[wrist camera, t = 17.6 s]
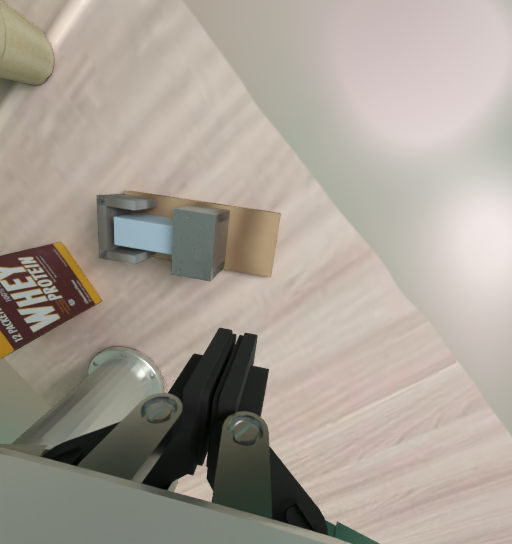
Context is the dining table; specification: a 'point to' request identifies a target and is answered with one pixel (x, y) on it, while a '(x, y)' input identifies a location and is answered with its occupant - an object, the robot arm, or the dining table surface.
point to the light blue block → (144, 232)
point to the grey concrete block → (199, 241)
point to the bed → (242, 221)
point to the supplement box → (39, 294)
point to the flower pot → (23, 49)
